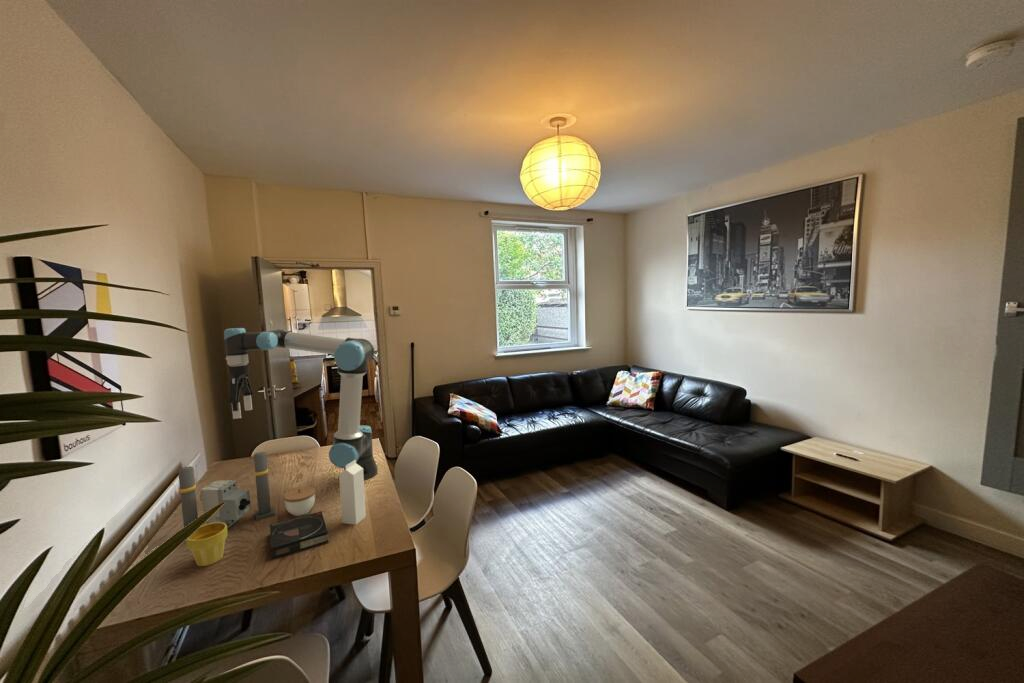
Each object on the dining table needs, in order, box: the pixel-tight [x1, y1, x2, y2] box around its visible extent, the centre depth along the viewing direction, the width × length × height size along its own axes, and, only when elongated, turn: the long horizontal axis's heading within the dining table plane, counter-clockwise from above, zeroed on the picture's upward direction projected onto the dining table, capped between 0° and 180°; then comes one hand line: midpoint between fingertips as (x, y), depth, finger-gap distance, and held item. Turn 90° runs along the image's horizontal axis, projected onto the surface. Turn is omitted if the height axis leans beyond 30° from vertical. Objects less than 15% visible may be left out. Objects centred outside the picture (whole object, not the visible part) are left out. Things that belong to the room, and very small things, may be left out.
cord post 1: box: [177, 466, 199, 528], centre depth 140 cm, size 6×6×24 cm
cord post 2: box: [253, 451, 276, 521], centre depth 153 cm, size 6×6×24 cm
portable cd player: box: [269, 511, 329, 560], centre depth 138 cm, size 16×17×4 cm
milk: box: [338, 460, 367, 526], centre depth 148 cm, size 6×6×22 cm
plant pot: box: [185, 522, 228, 567], centre depth 127 cm, size 10×10×10 cm
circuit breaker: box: [199, 480, 252, 529], centre depth 147 cm, size 8×14×15 cm, turn 89°
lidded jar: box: [283, 486, 316, 517], centre depth 155 cm, size 11×11×9 cm
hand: (243, 414), depth 172 cm, fingers open, 13 cm apart
